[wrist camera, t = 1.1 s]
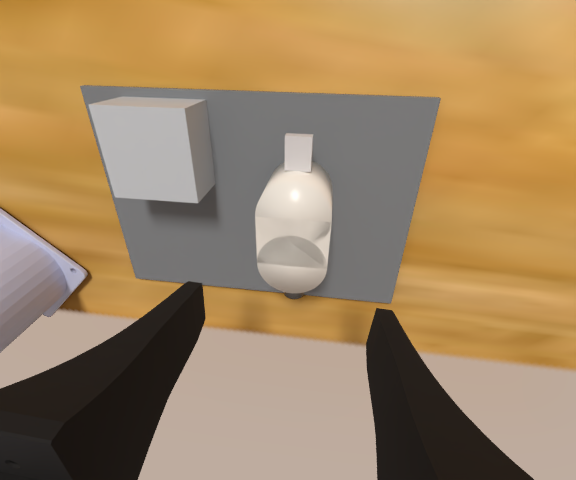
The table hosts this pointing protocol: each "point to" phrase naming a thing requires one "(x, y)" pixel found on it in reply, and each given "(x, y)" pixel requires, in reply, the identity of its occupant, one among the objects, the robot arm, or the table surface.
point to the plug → (295, 221)
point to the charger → (156, 147)
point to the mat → (259, 168)
